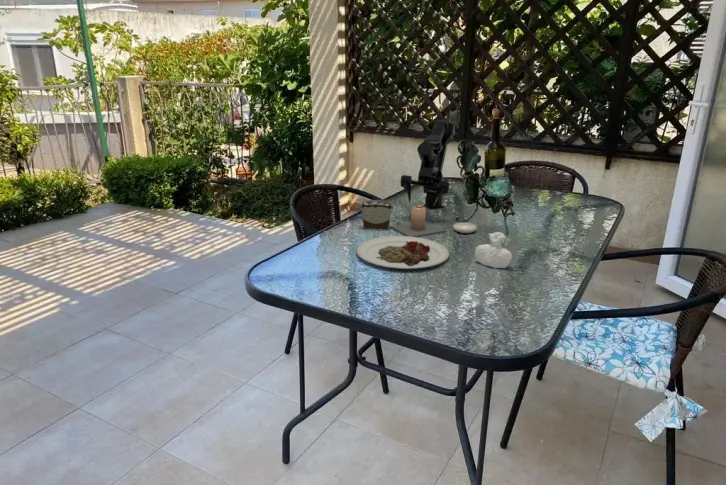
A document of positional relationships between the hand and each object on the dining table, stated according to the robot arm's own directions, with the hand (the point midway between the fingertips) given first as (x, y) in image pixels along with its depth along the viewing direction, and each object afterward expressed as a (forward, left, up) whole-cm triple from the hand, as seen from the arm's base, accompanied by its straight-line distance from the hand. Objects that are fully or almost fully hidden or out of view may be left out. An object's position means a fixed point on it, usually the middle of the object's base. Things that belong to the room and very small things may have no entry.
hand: (421, 203), depth 205 cm
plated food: (+26, +27, -8) cm, 38 cm away
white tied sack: (+5, +47, -8) cm, 48 cm away
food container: (+18, -3, -8) cm, 20 cm away
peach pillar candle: (+6, +7, -7) cm, 11 cm away
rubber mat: (+6, +7, -8) cm, 12 cm away
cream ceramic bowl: (-9, +16, -8) cm, 20 cm away
